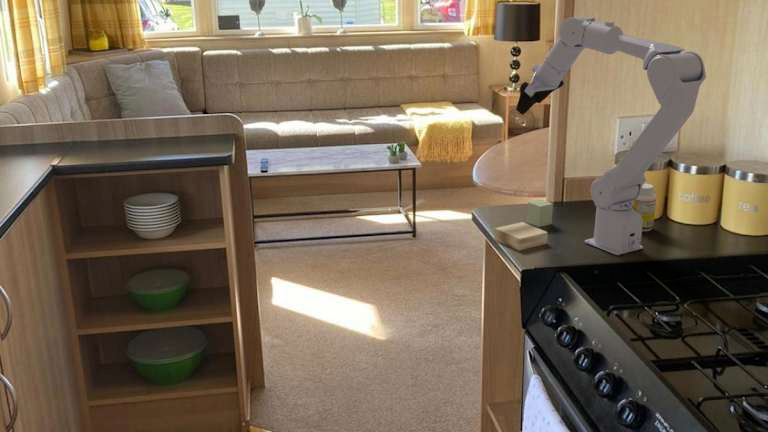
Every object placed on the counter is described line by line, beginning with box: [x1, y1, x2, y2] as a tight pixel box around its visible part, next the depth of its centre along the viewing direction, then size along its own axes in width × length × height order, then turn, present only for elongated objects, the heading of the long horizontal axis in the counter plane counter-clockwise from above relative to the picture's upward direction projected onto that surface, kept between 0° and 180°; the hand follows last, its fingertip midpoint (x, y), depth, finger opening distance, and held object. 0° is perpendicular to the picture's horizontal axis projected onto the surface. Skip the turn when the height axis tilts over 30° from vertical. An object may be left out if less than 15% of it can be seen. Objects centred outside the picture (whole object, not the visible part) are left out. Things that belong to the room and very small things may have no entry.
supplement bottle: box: [632, 183, 657, 233], centre depth 179 cm, size 6×6×10 cm
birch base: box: [493, 221, 548, 251], centre depth 172 cm, size 8×8×3 cm
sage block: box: [526, 199, 554, 228], centre depth 183 cm, size 4×4×5 cm
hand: (528, 106), depth 184 cm, fingers open, 7 cm apart
